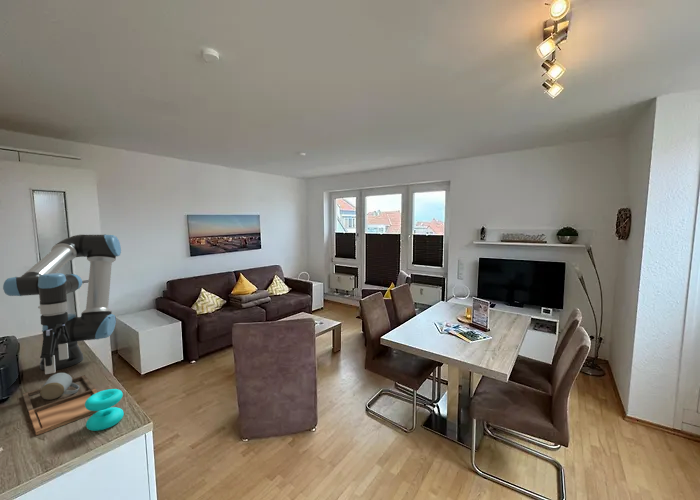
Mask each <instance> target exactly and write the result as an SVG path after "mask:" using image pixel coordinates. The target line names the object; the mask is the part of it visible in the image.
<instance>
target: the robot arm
mask: <svg viewBox="0 0 700 500" xmlns="http://www.w3.org/2000/svg"><path fill="white" fill-rule="evenodd" d="M121 246H122V245H121V242H120V240H119V239H118V237H117V236H116V235H114V234H77V235H72V236H70V237H67V238H65V239H62V240H60V241H58V242H57V243H55V245H53V246H52V248H51V249H50V252H49V253H48V254H46V255H45V256H44V257H42V259H40V260H39V261H38V262H37V263H36V264H34V265H33V266H32V267H30V268H29V269H28V270H27V271H26V272H25V273H23V274H22V275H21V276H14V277H9V278H6V279H5V281H4V282H3V285H2V289H3V293H5V295H7V296H10V297H23V296H25V297H26V296H38V297H39V306H38V307H37V308H38V309H39V313H40V325H41V327H42V330H41V332H42V345H41V353H40V356H39V357H40V363H39V370H41V371H44V374H45V375H49V374H56V370H61V369H66V368H69V367H72V366H75V365H77V364H79V363H80V362H82V361H83V360H84V353H83V352H82V350H81V348H80V346H79V344H78V342H81V341H82V342H83V341H93V340H101V339H108V338H109V337H111V335H112V334H113V332H114V330H115V328H116V324H117V323H116V321H117V319H116V315H115V314H112V313H113V312H112V310H111V309H110V308H109V301H110V292H111V291H110V289H111V287H110V286H111V278H112V277H111V275H112V265H113V263H114V262H115V261H116V258H117V257H120V256H121V253H122V247H121ZM80 257H81V258H84V257H86V260H87V261H89V263H90V264H89V265H90V266H89V273H88V285H87V293H86V295H87V296H86V306H85V310H83V311H82V312H81V314H80V316H77V315H76V314H75V313H68V310H69V309H68V298H67V296H68V295H67V294H70V293H73V292H76V291H77V290H79V289H80V288H81V287H82V285H83V280H82V278H81V277H80V275H78V274H75V273H70V274H64V273H62V272H61V273H60V272H58V271H59V270H61V269H62V268H63V267H64V266H65V265H66V264H67V263H68V262H69V261H72V260H74V259H76V258H80Z"/></svg>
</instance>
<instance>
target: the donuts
mask: <svg viewBox="0 0 700 500" xmlns="http://www.w3.org/2000/svg"><path fill="white" fill-rule="evenodd" d="M91 395H92V396H90V397H89V398H88V399H87V400H86V402H85V408H86V409H88V410H90V411H98V412H96V413H94V414H91V415H90V416H89V418H88V419H87V420H86V424H85V427H86V429H87V430H89V431H93V432H95V431H96V432H98V431H105V430H106V429H110V428H112V427H113V426H116V425H117V424H118V423H120V422H121V420H122V419H123V418H124V415H125V413H124V410H123V409H122V408H120V407H116V405H117V404H118V403H120V401H121V400H122V398H123V397H124V393H123V391H122V390H121V389H118V388H110V389H109V388H108V389H103V390H100V391H98V393H95V394H94V395H93V394H91Z"/></svg>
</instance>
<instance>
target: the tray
mask: <svg viewBox="0 0 700 500" xmlns="http://www.w3.org/2000/svg"><path fill="white" fill-rule="evenodd" d="M79 381H82V382H83V384H85V386H86V387H87V388H88V390H85V391H82V392H79V393H75V394H72V395H71V396H68V397H65V398H61V399H58V400H55V401H52V402H50V403H47V404H44V405H41V406H40V405H39V406H38V407H34V406H33V404H32V401H31V398H30V396H33V395H34V396H35V395H37V394H40V391H41V388H42V387H40V388H37V389H35V390H30V391H27V392H24V393H22V398H23V401H24V404H25V407H26V410H27V413H28V415H29V418H30V422H31V424H32V427H33V431H34V433H35V436H38V435H42V434H45V433H47V432H49V431H52V430H56V428H59V427H62V426H65V425H68V424H70V423H73V422H75V421H78V420H80V419H83V418H85V417H86V418H87V417H88V416H89V417H90V416H92V415H93V414H95V413H96V412H98V411H90V410H88V409H86V408H85V402H86V400H87V399H88V398H89V397H90V396H92V395H94V394H95V393H98V392H99V391H98V390H97V389H96V388H95V386H94V385H93V384H92V382H91V381H90V380H89V379H88V377H87V376H86V374H85V375H80V376H77V377H73V378H72V383H75V382H79ZM37 416H38V418H37ZM38 419H39V420H38ZM40 425H41V426H40Z"/></svg>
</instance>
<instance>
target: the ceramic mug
mask: <svg viewBox="0 0 700 500" xmlns="http://www.w3.org/2000/svg"><path fill="white" fill-rule="evenodd" d="M72 379H73V377H72V376H71V375H70V374H69V373H66V372H57V373H53V374H52V375H50V377H48V379H47V380H46V381H45V383H44V384H43V385H42V387H40V388H41V391H40V393H39V395H40V397H41V398H42V399H44V400H49V401H50V400H51V401H52V400H57V399H59V398H61V396H63V395H75V394H77V393H78V391H79V390H80V385H79V384H77V383H75V382H73V383H72ZM70 387H71V388H74V390H69V388H70Z"/></svg>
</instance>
